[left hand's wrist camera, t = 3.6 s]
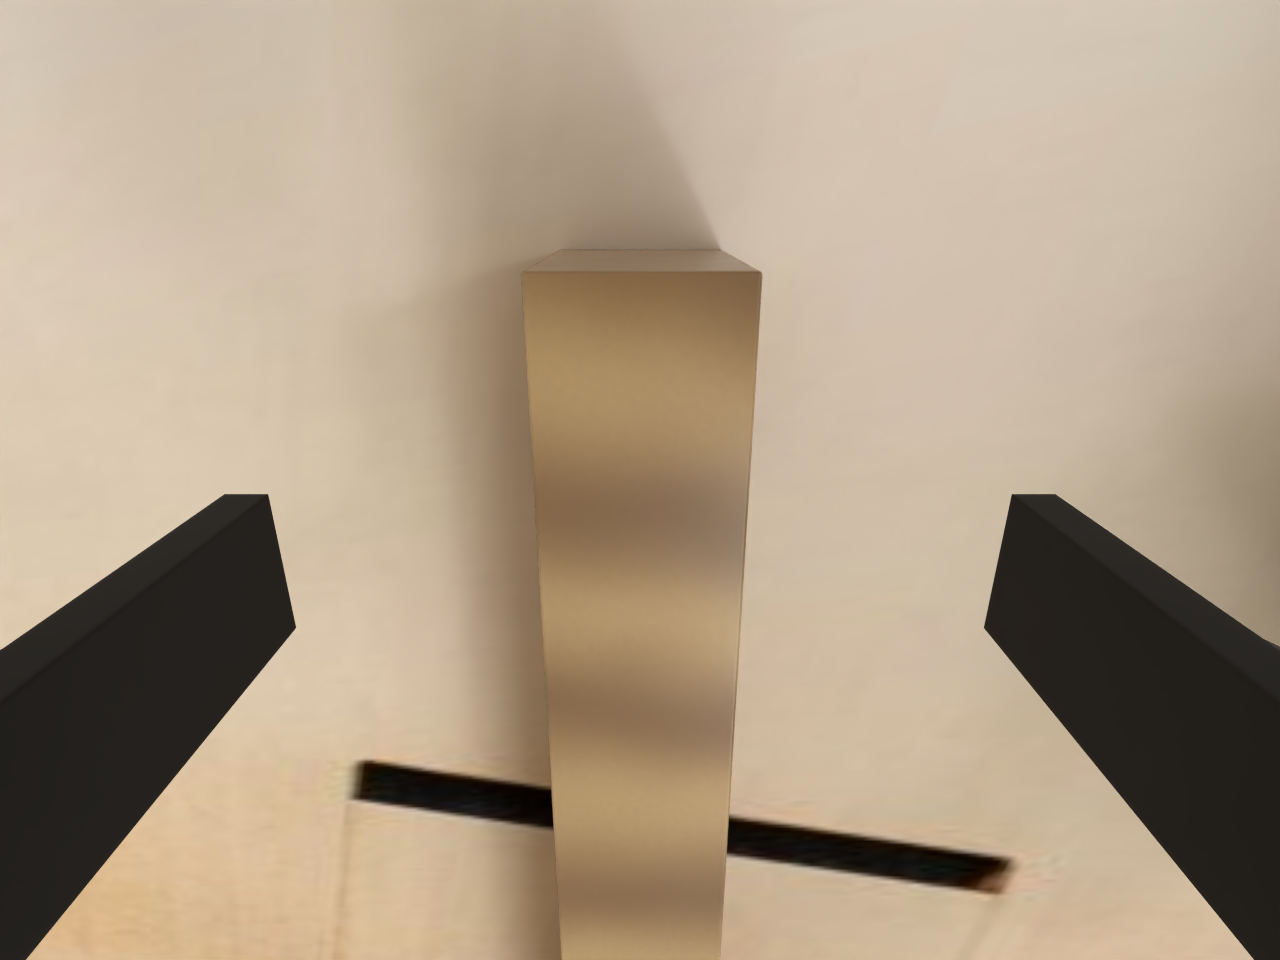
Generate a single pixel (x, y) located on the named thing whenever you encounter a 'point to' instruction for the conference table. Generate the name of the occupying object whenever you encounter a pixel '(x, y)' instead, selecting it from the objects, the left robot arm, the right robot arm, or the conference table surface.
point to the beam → (641, 581)
